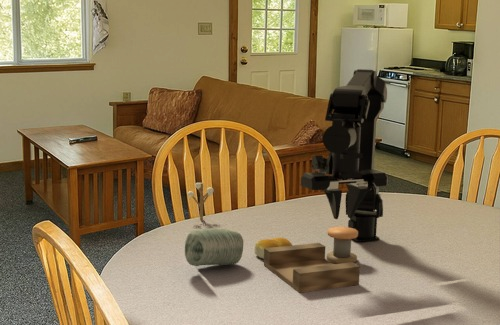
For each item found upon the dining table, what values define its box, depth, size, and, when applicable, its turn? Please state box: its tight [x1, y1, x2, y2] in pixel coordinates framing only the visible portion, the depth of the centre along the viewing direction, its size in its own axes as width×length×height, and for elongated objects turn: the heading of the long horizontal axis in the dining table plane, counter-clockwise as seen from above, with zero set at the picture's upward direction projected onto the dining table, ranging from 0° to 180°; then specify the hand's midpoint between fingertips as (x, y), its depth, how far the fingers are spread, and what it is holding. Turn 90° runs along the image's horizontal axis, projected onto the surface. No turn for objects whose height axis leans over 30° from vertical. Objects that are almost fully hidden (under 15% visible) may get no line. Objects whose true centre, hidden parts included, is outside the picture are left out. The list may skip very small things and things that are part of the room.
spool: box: [184, 227, 244, 267], centre depth 149 cm, size 14×10×10 cm
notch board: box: [263, 242, 361, 293], centre depth 146 cm, size 14×18×4 cm
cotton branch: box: [187, 182, 215, 221], centre depth 185 cm, size 7×6×12 cm
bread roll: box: [254, 237, 293, 260], centre depth 158 cm, size 8×9×4 cm
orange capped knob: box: [326, 226, 358, 264], centre depth 156 cm, size 7×7×7 cm
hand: (342, 218), depth 146 cm, fingers open, 3 cm apart
